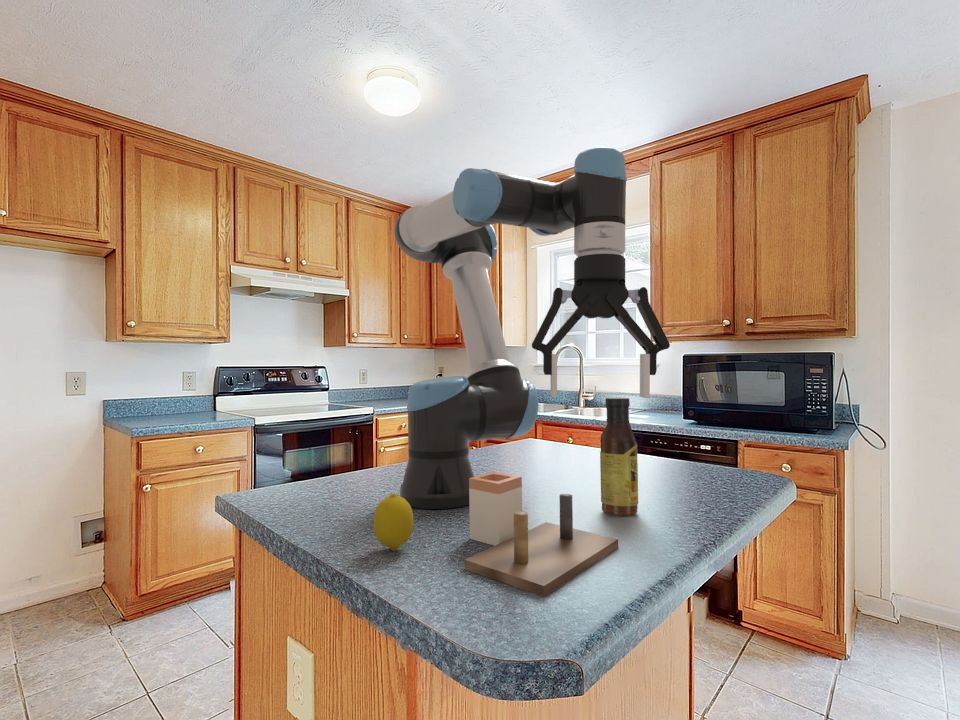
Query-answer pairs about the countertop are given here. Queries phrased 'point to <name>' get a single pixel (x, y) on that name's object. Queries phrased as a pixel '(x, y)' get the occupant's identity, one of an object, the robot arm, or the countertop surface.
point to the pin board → (542, 553)
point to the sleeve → (494, 506)
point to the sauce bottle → (618, 461)
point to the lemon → (393, 521)
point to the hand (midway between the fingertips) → (598, 397)
